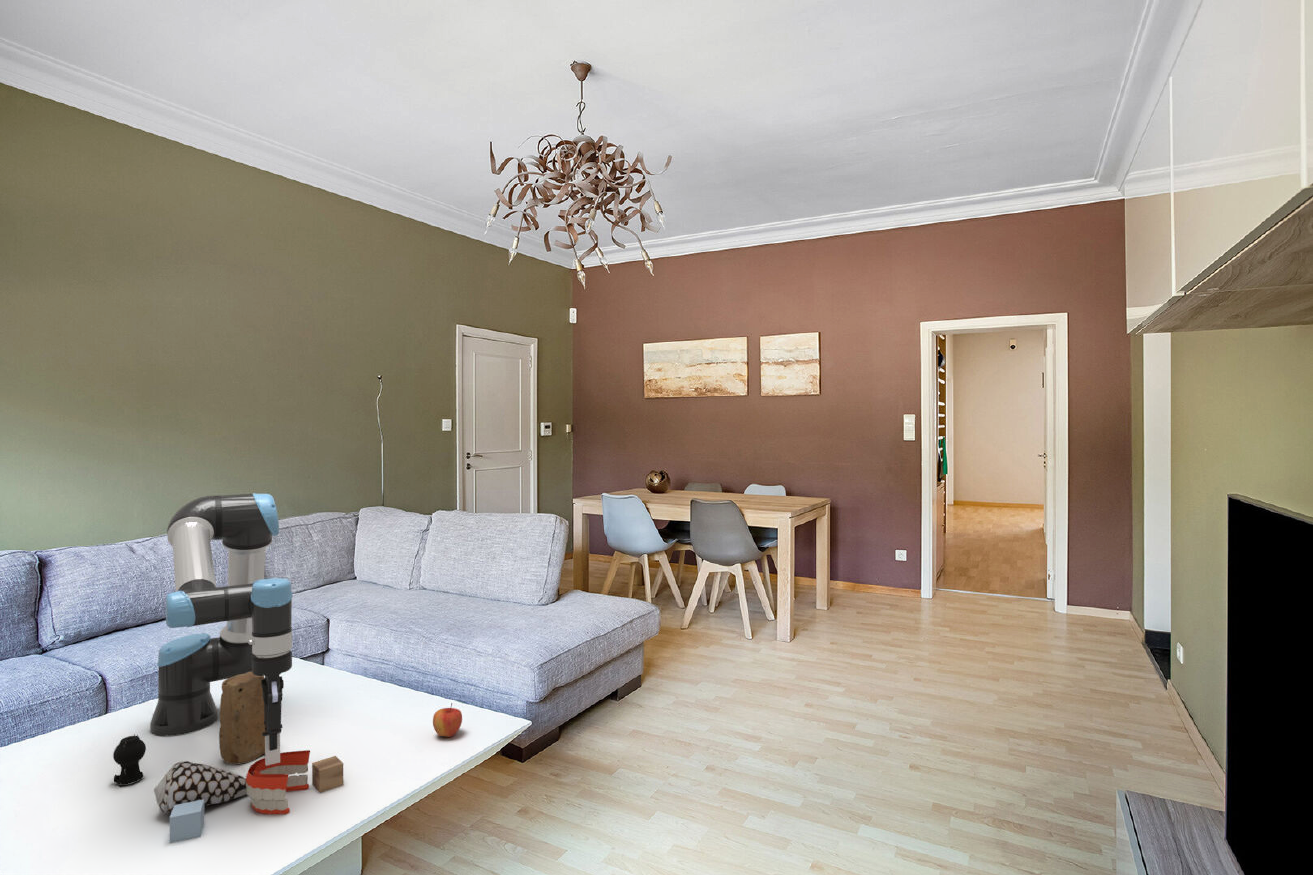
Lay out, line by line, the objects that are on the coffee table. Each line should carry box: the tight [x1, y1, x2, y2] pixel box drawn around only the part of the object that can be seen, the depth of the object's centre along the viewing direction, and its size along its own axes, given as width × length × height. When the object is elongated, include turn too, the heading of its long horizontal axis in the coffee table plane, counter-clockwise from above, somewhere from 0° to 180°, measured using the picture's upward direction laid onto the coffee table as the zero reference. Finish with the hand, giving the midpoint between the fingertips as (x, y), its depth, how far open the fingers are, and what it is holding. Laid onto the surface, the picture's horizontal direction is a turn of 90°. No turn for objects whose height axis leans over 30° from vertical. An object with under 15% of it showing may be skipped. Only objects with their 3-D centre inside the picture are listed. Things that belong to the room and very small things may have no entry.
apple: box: [432, 702, 463, 738], centre depth 179 cm, size 7×7×8 cm
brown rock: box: [218, 671, 266, 765], centre depth 168 cm, size 11×8×20 cm
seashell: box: [153, 760, 247, 814], centre depth 147 cm, size 16×13×10 cm
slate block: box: [169, 799, 205, 844], centre depth 135 cm, size 5×5×5 cm
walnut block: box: [311, 755, 344, 794], centre depth 154 cm, size 5×5×5 cm
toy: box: [245, 749, 311, 815], centre depth 147 cm, size 12×10×8 cm
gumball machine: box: [112, 733, 147, 788], centre depth 156 cm, size 7×6×10 cm
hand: (272, 762), depth 147 cm, fingers closed
